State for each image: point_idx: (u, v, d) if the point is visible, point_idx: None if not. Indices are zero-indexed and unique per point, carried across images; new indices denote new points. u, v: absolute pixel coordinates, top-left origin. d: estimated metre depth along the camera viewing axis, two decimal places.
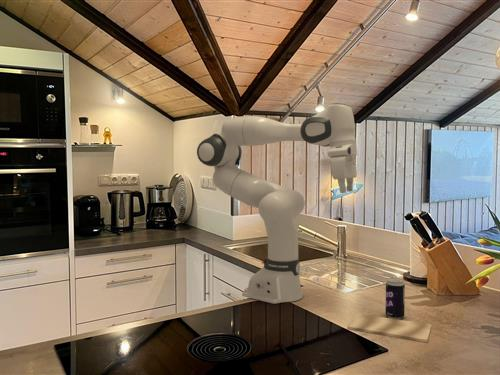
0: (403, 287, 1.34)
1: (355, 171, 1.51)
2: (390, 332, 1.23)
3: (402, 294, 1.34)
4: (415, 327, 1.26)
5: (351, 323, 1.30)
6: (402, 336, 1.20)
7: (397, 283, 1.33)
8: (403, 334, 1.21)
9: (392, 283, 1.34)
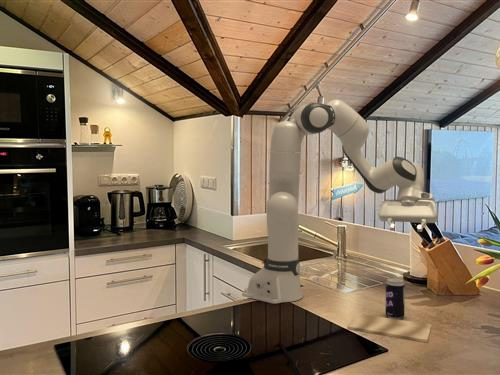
0: (403, 287, 1.34)
1: None
2: (390, 332, 1.23)
3: (402, 294, 1.34)
4: (415, 327, 1.26)
5: (351, 323, 1.30)
6: (402, 336, 1.20)
7: (397, 283, 1.33)
8: (403, 334, 1.21)
9: (392, 283, 1.34)
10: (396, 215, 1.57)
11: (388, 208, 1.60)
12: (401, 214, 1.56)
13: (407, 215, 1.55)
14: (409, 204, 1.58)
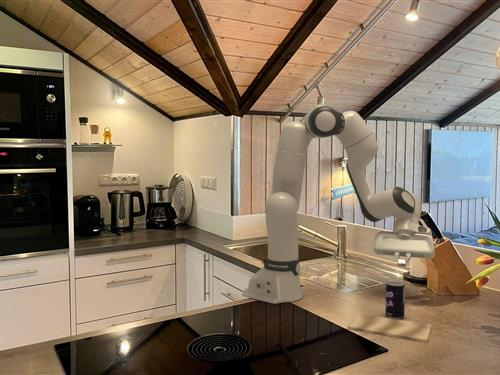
0: (403, 287, 1.34)
1: None
2: (390, 332, 1.23)
3: (402, 294, 1.34)
4: (415, 327, 1.26)
5: (351, 323, 1.30)
6: (402, 336, 1.20)
7: (397, 283, 1.33)
8: (403, 334, 1.21)
9: (392, 283, 1.34)
10: (392, 249, 1.51)
11: (383, 241, 1.54)
12: (397, 248, 1.50)
13: (403, 250, 1.49)
14: (405, 238, 1.52)
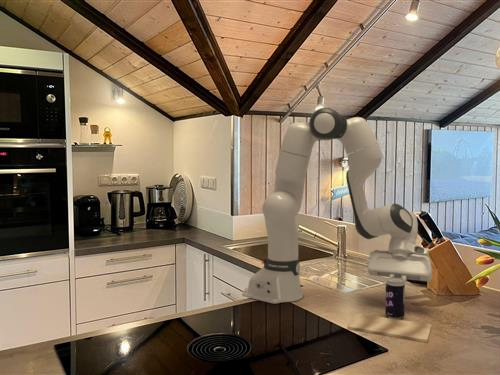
0: (403, 287, 1.34)
1: None
2: (390, 332, 1.23)
3: (402, 294, 1.34)
4: (415, 327, 1.26)
5: (351, 323, 1.30)
6: (402, 336, 1.20)
7: (397, 283, 1.33)
8: (403, 334, 1.21)
9: (392, 283, 1.34)
10: (387, 270, 1.42)
11: (378, 261, 1.46)
12: (392, 269, 1.42)
13: (399, 271, 1.41)
14: (401, 258, 1.44)
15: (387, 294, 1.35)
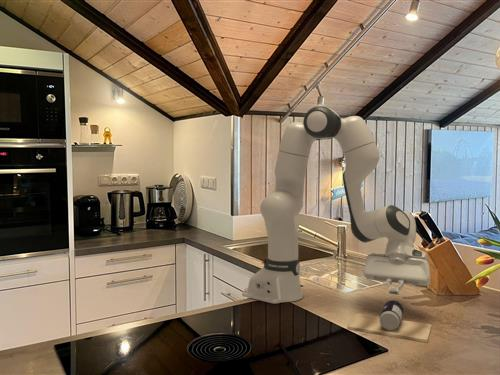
0: (399, 324, 1.24)
1: None
2: (390, 332, 1.23)
3: None
4: (415, 327, 1.26)
5: (351, 323, 1.30)
6: (402, 336, 1.20)
7: (392, 329, 1.23)
8: (403, 334, 1.21)
9: (387, 329, 1.24)
10: (383, 274, 1.37)
11: (375, 265, 1.41)
12: (389, 273, 1.37)
13: (396, 275, 1.36)
14: (398, 262, 1.38)
15: None
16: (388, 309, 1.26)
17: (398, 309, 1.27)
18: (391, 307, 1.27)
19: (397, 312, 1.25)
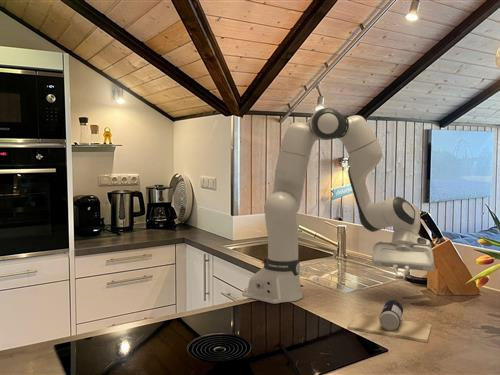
0: None
1: None
2: (390, 332, 1.23)
3: None
4: (415, 327, 1.26)
5: (351, 323, 1.30)
6: (402, 336, 1.20)
7: (392, 329, 1.23)
8: (403, 334, 1.21)
9: (387, 329, 1.24)
10: (390, 261, 1.47)
11: (382, 252, 1.51)
12: (396, 260, 1.47)
13: (402, 262, 1.46)
14: (404, 249, 1.48)
15: None
16: (388, 309, 1.26)
17: (398, 309, 1.27)
18: (390, 307, 1.27)
19: (397, 312, 1.25)
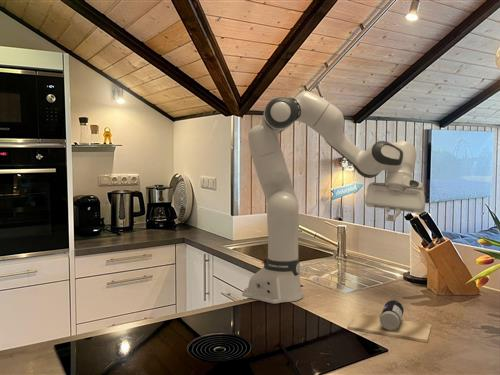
0: (399, 324, 1.24)
1: None
2: (390, 332, 1.23)
3: None
4: (415, 327, 1.26)
5: (351, 323, 1.30)
6: (402, 336, 1.20)
7: (392, 329, 1.23)
8: (403, 334, 1.21)
9: (387, 329, 1.24)
10: (382, 203, 1.51)
11: (375, 194, 1.54)
12: (388, 202, 1.50)
13: (393, 204, 1.49)
14: (397, 191, 1.51)
15: None
16: (388, 309, 1.25)
17: (398, 309, 1.27)
18: (391, 307, 1.27)
19: (397, 312, 1.25)
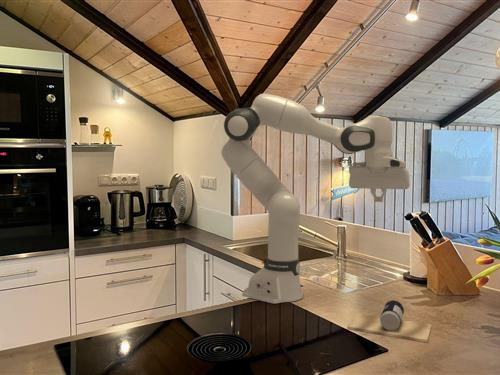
0: (399, 324, 1.24)
1: None
2: (390, 332, 1.23)
3: None
4: (415, 327, 1.26)
5: (351, 323, 1.30)
6: (402, 336, 1.20)
7: (392, 329, 1.23)
8: (403, 334, 1.21)
9: (387, 329, 1.24)
10: (367, 187, 1.50)
11: (358, 178, 1.51)
12: (372, 185, 1.49)
13: (378, 187, 1.48)
14: (379, 172, 1.48)
15: None
16: (389, 309, 1.25)
17: (399, 309, 1.27)
18: (391, 307, 1.27)
19: (398, 312, 1.25)
